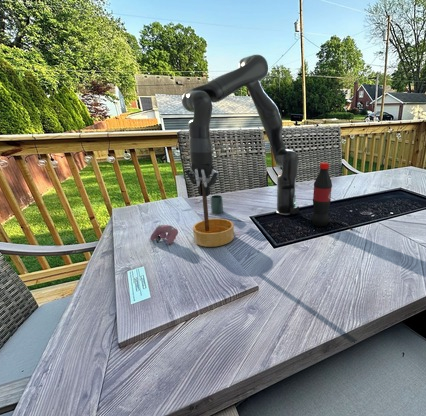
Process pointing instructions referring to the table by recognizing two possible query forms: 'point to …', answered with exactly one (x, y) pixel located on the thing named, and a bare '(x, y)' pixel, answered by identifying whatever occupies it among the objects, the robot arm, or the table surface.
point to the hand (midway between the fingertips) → (204, 195)
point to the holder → (216, 204)
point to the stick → (205, 209)
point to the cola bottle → (322, 197)
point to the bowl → (213, 232)
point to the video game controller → (162, 232)
